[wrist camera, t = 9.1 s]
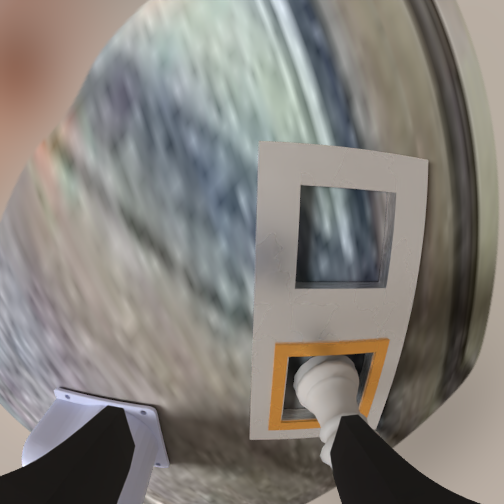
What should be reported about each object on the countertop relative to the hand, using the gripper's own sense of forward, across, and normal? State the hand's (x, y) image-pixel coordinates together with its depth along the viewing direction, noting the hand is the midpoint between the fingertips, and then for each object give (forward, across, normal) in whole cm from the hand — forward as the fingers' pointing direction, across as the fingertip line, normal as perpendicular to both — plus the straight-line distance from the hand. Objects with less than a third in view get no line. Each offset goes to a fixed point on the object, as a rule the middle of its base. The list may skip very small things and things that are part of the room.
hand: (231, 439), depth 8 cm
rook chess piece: (+10, -6, +5) cm, 13 cm away
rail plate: (+10, -6, 0) cm, 12 cm away
